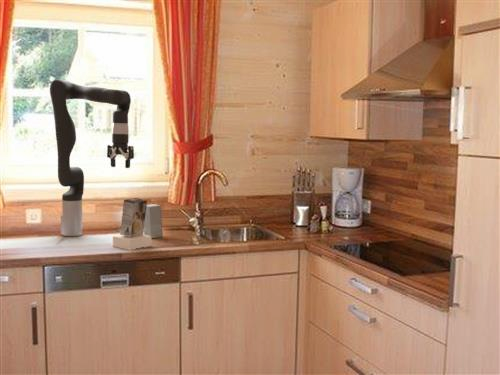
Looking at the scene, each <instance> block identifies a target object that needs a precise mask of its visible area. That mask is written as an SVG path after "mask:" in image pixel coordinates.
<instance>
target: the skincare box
mask: <svg viewBox="0 0 500 375" xmlns="http://www.w3.org/2000/svg"><path fill="white" fill-rule="evenodd" d="M162 218H163V215H162V205H161V204H160V205H159V204H156V203H150V204H147V206H146V214H145V222H144V230H143V235H148V236H151V239H156V238H164V234H163V219H162Z"/></svg>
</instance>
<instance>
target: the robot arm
mask: <svg viewBox="0 0 500 375" xmlns="http://www.w3.org/2000/svg"><path fill="white" fill-rule="evenodd" d="M49 94H50V101H51V105H52V110H53V119H54V129H55V138H56V140H55V141H56V146H57V147H56V148H57V178H58V182H59V185H61V186H62V187H66V188H67V187H69V189H68V190H67V191H66V192H64V193H62V196H61V197H62V198H61V199H62V200H61V203H62V205H61V206H62V208H61V209H62V212H61V213H62V214H61V215H60V234H61V235H62V236H64V237H77V236H78V237H79V236H82V235H83V195H84V189H85V187H84V186H85V175H84V172H83V169H82V168H81V167H80V166H79V167H78V166H71V164H70V160H71V159H70V157H71V154H72V151H73V149H74V147H75V145H76V141H77V133H76V125H75V122H74V121H73V118H72V116H71V114H70V112H69V109H68V106H67V100H86V101H90V102H94V103H101V104H108V105H109V104H110V105H112V106H113V105H115V106H116V109H115V110H114V111H113V112H112V128H111V142H112V144H107V146H106V147H107V150H106V157H107V158H109V159H110V166H111V168H116V158H117V156H118V155H120V156H123V157H124V159H125V160H124V161H125V162H124V163H125V164H124V166H125V169H130V167H131V160H132V159H133V160H134V159H135V153H134V152H135V151H134V150H135V149H134V146H133V145H128V144H129V138H130V137H129V134H130V133H129V112H130V107H131V103H132V102H131V101H132V100H131V95H130V93H129V92H128V91H126V90H123V89H122V90H120V89H110V88H109V89H108V88H107V87H99V86H83V85H79V84H76V83H73V82H70V81H69V80H64V79H59V78H58V79H57V78H56V79H54V80H52V81H51V83H50V86H49Z"/></svg>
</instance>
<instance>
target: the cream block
mask: <svg viewBox="0 0 500 375" xmlns="http://www.w3.org/2000/svg"><path fill="white" fill-rule="evenodd" d="M114 246H115V248H119V247H120V248H121V249H123V248H124V249H125V250H128V249H129V251H132V249H133V250H137V249H136V248H139V249H141V248H140V247H144V248H147V247H148V246H149V247H152V238H151V236H148V235H144V234H143V235H139V236H135V237H127V236H124V235H121V234H117V235H113V236H112V247H114Z"/></svg>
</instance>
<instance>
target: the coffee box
mask: <svg viewBox="0 0 500 375" xmlns="http://www.w3.org/2000/svg"><path fill="white" fill-rule="evenodd" d="M147 203H148V200H146V199H142V198H138V197H135V198H134V197H133V198H129V199H127V198H126V199H123V207H122V214H121V223H120V231H119V235H124V236H127V237H135V236H139V235H144V222H145V214H146V206H147V205H148V204H147Z"/></svg>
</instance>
